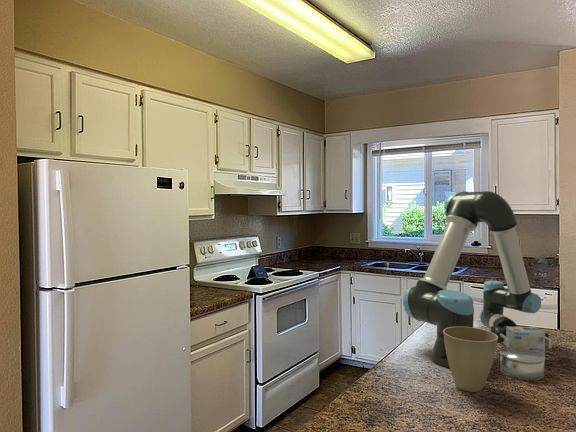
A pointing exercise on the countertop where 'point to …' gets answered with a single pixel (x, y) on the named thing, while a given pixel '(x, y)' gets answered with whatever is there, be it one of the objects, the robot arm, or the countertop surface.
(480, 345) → the plant pot
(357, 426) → the countertop surface
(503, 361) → the cookie tin
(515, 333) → the light bulb box
